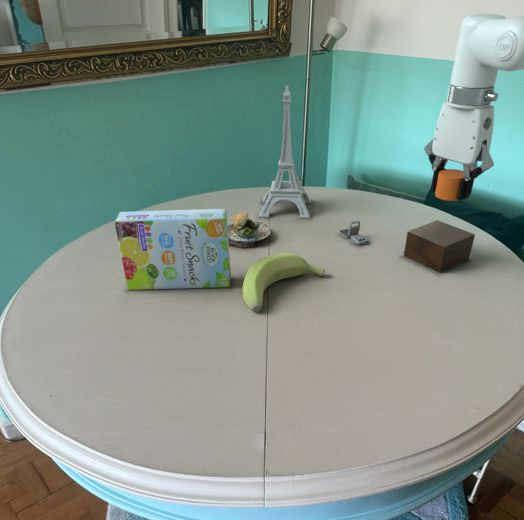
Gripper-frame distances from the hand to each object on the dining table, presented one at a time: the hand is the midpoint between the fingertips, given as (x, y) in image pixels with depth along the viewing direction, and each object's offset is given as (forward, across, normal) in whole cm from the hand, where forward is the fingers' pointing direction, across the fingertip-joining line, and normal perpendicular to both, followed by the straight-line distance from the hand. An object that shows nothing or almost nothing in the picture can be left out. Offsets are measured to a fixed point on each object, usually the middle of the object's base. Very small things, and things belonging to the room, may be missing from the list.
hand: (449, 193), depth 104 cm
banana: (+16, +12, +33) cm, 38 cm away
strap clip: (+16, +21, +5) cm, 26 cm away
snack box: (+16, +27, +49) cm, 58 cm away
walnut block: (+16, +2, -2) cm, 16 cm away
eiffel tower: (+16, +46, +6) cm, 49 cm away
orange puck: (+1, 0, 0) cm, 1 cm away
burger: (+16, +37, +25) cm, 47 cm away
